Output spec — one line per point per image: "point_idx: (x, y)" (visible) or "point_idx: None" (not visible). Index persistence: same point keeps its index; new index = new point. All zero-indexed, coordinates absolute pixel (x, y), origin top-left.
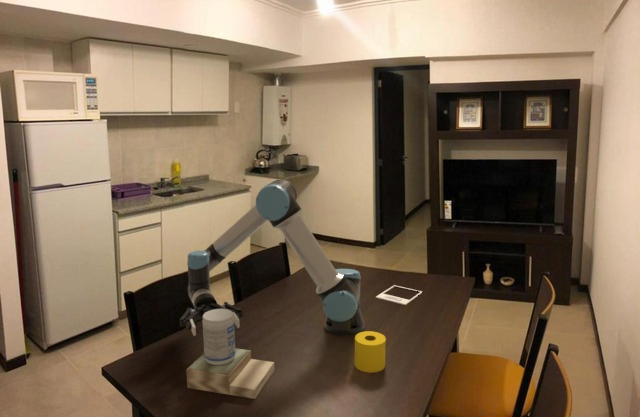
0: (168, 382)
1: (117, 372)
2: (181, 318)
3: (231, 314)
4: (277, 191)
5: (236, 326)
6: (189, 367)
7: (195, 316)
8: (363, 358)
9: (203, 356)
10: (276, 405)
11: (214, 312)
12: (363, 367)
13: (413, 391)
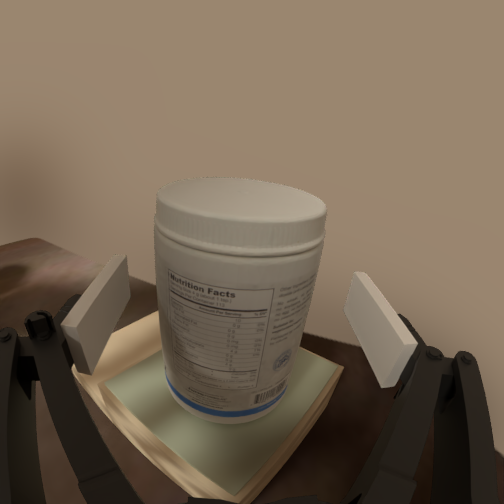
0: None
1: None
2: (472, 367)
3: (178, 182)
4: None
5: (125, 306)
6: (336, 367)
7: (396, 417)
8: None
9: (288, 415)
10: (152, 295)
11: (258, 202)
12: None
13: (5, 250)
